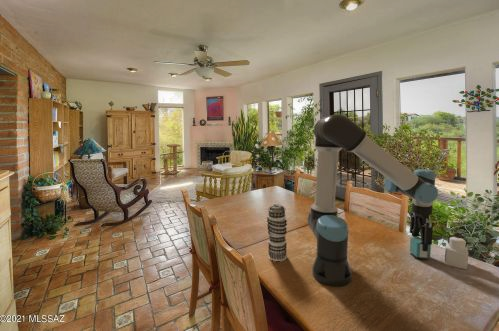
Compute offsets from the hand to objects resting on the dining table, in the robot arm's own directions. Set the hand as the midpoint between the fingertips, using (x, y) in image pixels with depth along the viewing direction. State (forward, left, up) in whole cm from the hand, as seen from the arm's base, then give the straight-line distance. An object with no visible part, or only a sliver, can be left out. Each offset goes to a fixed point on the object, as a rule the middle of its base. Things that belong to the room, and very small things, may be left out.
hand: (419, 253), depth 110 cm
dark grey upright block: (0, 0, -2) cm, 2 cm away
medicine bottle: (+12, -5, -2) cm, 13 cm away
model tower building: (-64, -4, -2) cm, 64 cm away
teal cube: (0, 0, 0) cm, 0 cm away
